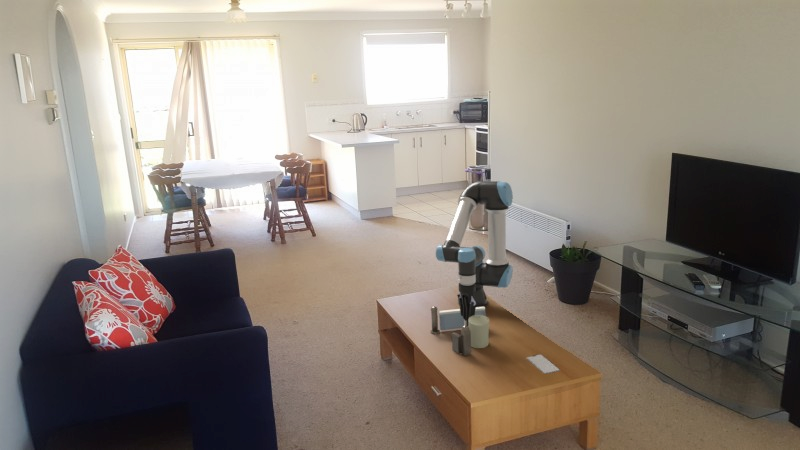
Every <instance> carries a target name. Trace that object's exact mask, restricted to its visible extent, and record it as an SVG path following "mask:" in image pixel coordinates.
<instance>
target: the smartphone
mask: <svg viewBox="0 0 800 450" xmlns="http://www.w3.org/2000/svg"><path fill="white" fill-rule="evenodd" d="M525 359H526V360H527V361H529V362H530V363H531V364H532V365H533V366H534V367H536V368H537V369H538V371H540V372H541V373H542V374H544V375H545V374H546V375H547V374H552V373H556V372H560V371H561V369H560V368H559V367H558V366H557V365H555V364H554V363H552V362H551V361H550V360H549V359H548V358H547V357H545V356H544V355H543V354H541V353H540V354H536V355H529V356H527V357H525Z"/></svg>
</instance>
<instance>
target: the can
mask: <svg viewBox="0 0 800 450" xmlns="http://www.w3.org/2000/svg"><path fill="white" fill-rule="evenodd" d="M468 322H469V328H470V331H471V348H474V349H485V348H486V347H488V345H489V343H490V342H489V331H490V319H489V317H487V316H486V315H485V316H483V315H473V316H471V317H469V319H468Z"/></svg>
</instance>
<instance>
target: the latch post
mask: <svg viewBox="0 0 800 450" xmlns="http://www.w3.org/2000/svg"><path fill="white" fill-rule="evenodd" d="M451 347H452V351H453V352H455V353H456V354H457V355H463V356H465V357H466V356H470V355H472V347H471V331H470V328H469V327H468V326H467V325H464V326H463V327H462V328H461V329H460V334H458V333H457V332H456V331H455V332H451Z"/></svg>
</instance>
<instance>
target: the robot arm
mask: <svg viewBox="0 0 800 450" xmlns="http://www.w3.org/2000/svg"><path fill="white" fill-rule="evenodd" d="M457 204H458V206H457V208H456V211H455V214H454V216H453V220H452V222H451V224H450V227H449V230H448V233H447V235H446V239H445V241H444V243H443V244H439V245H437V247H436V248H435V258H436V260H437V261H439V262H444V263H447V262H448V263H457V266H458V271H457V272H458V273H457V274H458V278H457V279H458V292H459V294H457V295H456V296H457V303H458V305H459V309H460V313H461V316H463V318H464V325H467V326H468V327H469V322H468V319H469V317H471V316H473V315H475V309H476V307H485V306H486V305H487V304H488V299H487V298H488V297H487V295H486V292H485V290H484V287H492V288H498V289H499V288H500V289H501V288H502V289H504V288H507V287H509V285H510V284H511V281H512V278H513V274H514V273H513V272H514V267H513V266H512V265H511V264H510V263H509V260H508V258H507V255H506V253H507V250H506V248H507V245H506V241H507V240H506V238H507V237H506V236H507V235H506V230H507V229H506V212H507V211H508V210H509V208H510V206H511V205H512V204H513V190H512V186H511V184H509V183H508V182H506V181H499V180H498V181H497V180H496V181H495V180H493V181H492V180H491V181H489V180H488V181H487V180H477V181H475V182H472V183H470V184H468V186H466V187H465V188H464V189H463V190H462V192H461V193H460V195H459V198H458V200H457ZM479 205H484V210H485V211H486V212H487V223H488V224H487V227H488V228H487V236H488V237H487V238H488V240H487V242H488V245H487V246H488V249H487V250H488V258H487V259H486V260H485V258H486V251H485V249H484V248H483V247H482V246H480V245H475V246H472V247H468V246H467V247H466V246H461V244H462V241H463V239H464V236H465V234H466V231H467V229H468V225H469V223H470V219H471V217H472V214H473V211H474V210H476V209H477V206H479ZM483 260H485V262H484V261H483Z"/></svg>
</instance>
